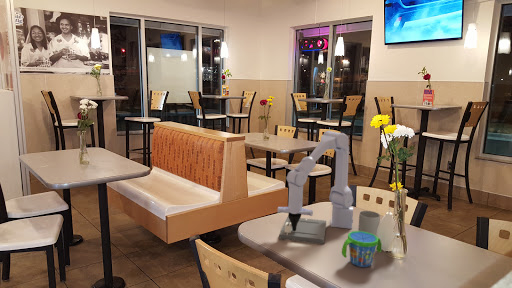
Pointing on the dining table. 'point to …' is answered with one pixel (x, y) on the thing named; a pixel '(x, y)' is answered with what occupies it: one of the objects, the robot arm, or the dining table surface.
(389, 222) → the sauce bottle
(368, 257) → the snack cup
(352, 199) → the robot arm
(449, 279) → the dining table surface
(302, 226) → the console
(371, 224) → the cup
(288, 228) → the block
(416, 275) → the dining table surface
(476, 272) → the dining table surface
